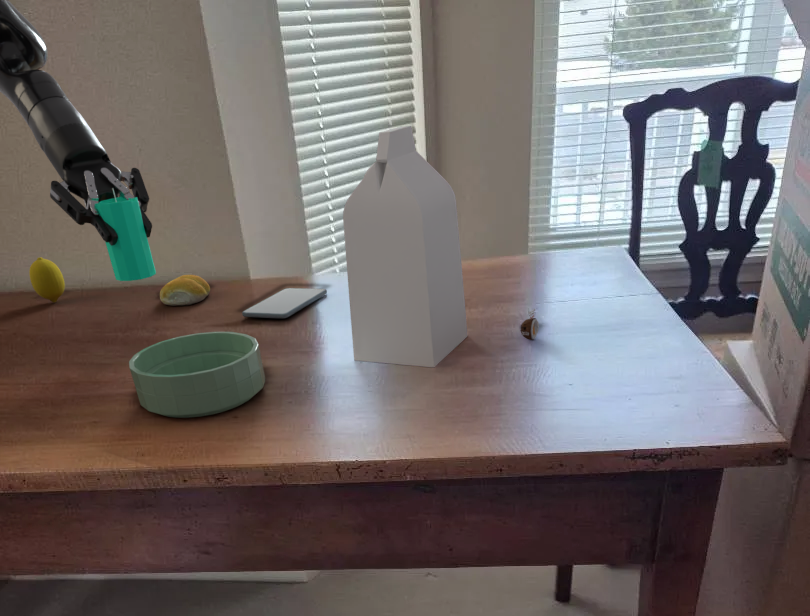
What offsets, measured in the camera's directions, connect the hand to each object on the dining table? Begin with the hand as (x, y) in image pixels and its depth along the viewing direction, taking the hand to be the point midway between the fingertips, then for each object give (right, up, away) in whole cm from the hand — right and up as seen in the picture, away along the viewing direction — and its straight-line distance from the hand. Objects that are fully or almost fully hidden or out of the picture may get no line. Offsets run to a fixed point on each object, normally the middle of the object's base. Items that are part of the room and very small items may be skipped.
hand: (131, 237), depth 105 cm
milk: (+41, -18, -6) cm, 45 cm away
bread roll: (+1, -1, +24) cm, 24 cm away
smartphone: (+20, -5, +15) cm, 25 cm away
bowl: (+15, -26, -15) cm, 33 cm away
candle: (-1, -4, +4) cm, 6 cm away
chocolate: (+56, -17, -7) cm, 59 cm away
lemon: (-25, 0, +30) cm, 39 cm away
